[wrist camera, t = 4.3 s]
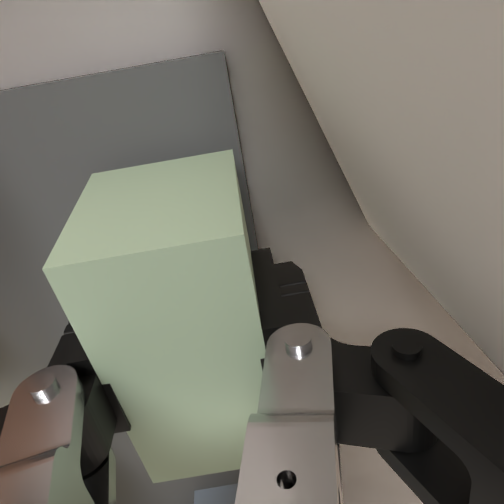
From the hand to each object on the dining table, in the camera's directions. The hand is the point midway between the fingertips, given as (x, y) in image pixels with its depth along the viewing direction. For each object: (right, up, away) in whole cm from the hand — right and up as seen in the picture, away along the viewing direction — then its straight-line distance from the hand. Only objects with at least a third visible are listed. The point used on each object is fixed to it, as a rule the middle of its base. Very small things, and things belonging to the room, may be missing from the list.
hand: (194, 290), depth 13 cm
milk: (+8, +9, -3) cm, 12 cm away
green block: (0, 0, 0) cm, 1 cm away
